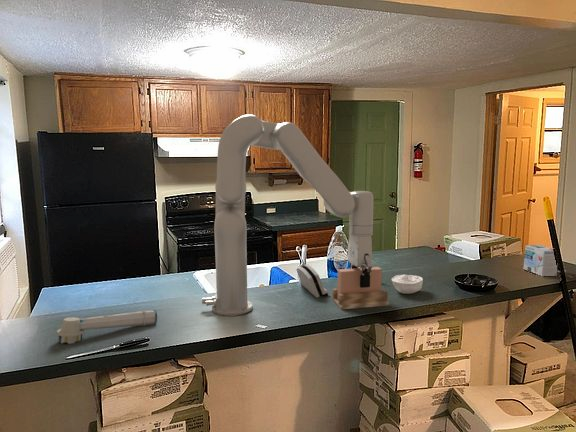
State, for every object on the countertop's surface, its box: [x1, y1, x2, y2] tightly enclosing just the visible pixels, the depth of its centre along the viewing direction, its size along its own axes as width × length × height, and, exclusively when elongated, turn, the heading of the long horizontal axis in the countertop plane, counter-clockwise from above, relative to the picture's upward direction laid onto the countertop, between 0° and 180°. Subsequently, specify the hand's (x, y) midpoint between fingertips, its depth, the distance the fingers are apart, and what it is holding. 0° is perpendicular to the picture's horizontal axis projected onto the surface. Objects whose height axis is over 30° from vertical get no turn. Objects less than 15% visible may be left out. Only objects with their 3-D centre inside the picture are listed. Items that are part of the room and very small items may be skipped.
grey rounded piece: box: [296, 264, 331, 298], centre depth 154 cm, size 17×5×10 cm, turn 17°
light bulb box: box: [523, 244, 558, 276], centre depth 173 cm, size 11×7×11 cm, turn 10°
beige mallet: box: [56, 309, 158, 344], centre depth 118 cm, size 5×7×25 cm
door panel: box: [337, 266, 383, 300], centre depth 140 cm, size 14×3×10 cm, turn 103°
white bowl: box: [391, 274, 424, 295], centre depth 151 cm, size 10×12×7 cm
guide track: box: [330, 287, 390, 310], centre depth 141 cm, size 16×10×4 cm, turn 102°
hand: (359, 283), depth 140 cm, fingers open, 7 cm apart
